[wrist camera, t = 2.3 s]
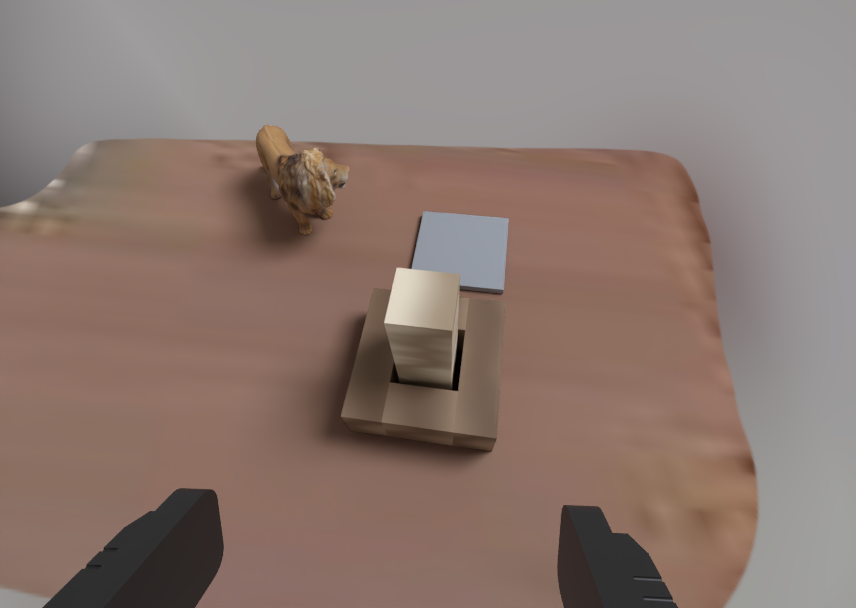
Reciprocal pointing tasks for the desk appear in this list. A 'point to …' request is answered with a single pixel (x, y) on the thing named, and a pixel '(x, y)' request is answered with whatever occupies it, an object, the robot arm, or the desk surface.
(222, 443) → the desk surface
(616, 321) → the desk surface
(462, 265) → the slate mat
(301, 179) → the lion figurine
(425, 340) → the birch peg
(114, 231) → the desk surface
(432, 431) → the socket block
